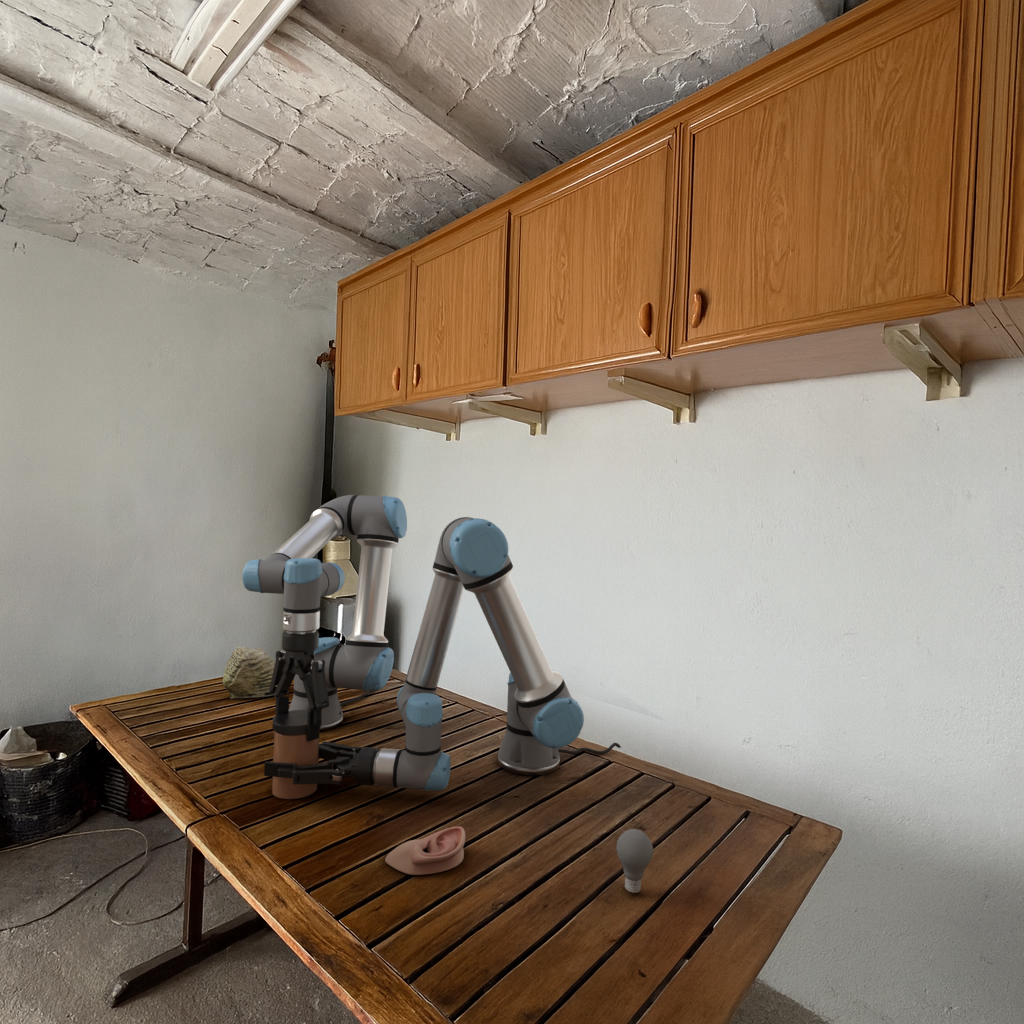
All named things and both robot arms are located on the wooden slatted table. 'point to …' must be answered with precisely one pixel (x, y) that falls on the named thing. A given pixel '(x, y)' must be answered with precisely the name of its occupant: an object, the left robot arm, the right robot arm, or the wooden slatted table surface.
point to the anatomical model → (429, 853)
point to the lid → (291, 722)
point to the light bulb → (634, 857)
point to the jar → (293, 752)
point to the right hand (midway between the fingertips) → (276, 758)
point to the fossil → (248, 673)
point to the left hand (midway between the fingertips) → (297, 733)
